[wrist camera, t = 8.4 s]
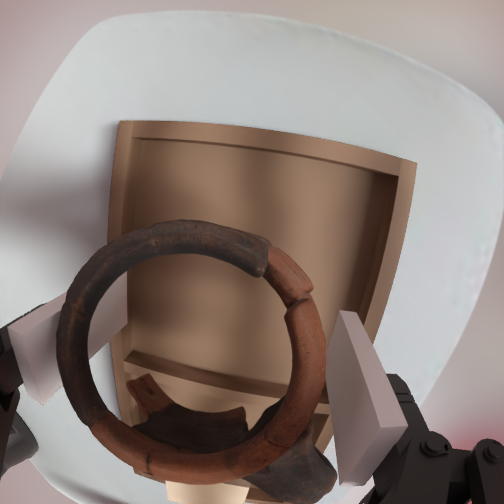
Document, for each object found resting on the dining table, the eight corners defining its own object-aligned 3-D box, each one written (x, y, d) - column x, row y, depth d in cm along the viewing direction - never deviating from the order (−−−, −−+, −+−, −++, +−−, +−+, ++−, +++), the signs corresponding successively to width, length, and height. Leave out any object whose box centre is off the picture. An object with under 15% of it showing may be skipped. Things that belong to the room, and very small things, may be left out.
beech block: (186, 453, 22) (168, 499, 17) (186, 415, 21) (163, 467, 15) (247, 466, 22) (239, 516, 16) (258, 430, 21) (249, 487, 15)
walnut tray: (141, 460, 25) (134, 473, 23) (136, 126, 17) (119, 120, 15) (290, 492, 24) (290, 507, 21) (402, 164, 16) (417, 163, 13)
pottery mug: (101, 346, 14) (-6, 340, 6) (217, 228, 16) (192, 130, 8) (259, 493, 12) (266, 592, 4) (378, 373, 14) (481, 390, 6)
